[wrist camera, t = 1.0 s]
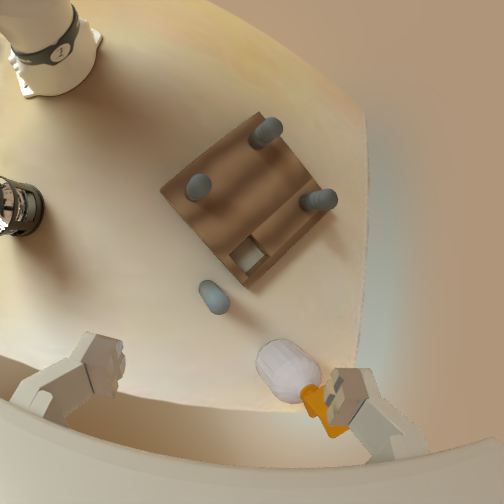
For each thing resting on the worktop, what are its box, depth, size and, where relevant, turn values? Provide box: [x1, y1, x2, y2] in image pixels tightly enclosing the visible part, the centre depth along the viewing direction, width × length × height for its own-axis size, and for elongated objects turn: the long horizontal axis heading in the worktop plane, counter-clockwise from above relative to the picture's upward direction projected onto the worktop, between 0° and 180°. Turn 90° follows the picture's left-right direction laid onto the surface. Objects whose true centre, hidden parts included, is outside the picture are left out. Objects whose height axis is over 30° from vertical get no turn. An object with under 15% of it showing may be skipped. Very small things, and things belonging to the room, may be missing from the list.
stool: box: [160, 112, 338, 289], centre depth 50 cm, size 22×22×11 cm
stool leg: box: [199, 280, 230, 315], centre depth 49 cm, size 3×3×11 cm
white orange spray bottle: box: [256, 340, 350, 438], centre depth 47 cm, size 9×9×25 cm
